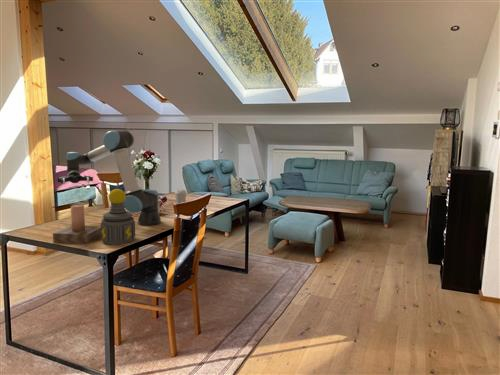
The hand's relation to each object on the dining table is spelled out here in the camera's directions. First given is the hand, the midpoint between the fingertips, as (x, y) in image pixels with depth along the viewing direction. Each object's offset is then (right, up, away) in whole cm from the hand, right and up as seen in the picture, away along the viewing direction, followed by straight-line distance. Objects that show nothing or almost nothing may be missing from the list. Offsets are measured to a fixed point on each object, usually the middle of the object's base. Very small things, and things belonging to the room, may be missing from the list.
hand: (76, 181), depth 230 cm
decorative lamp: (+30, -35, -13) cm, 48 cm away
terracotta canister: (+6, -28, -11) cm, 31 cm away
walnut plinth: (+6, -33, -11) cm, 36 cm away
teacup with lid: (+32, -24, +56) cm, 69 cm away
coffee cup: (+50, -21, +77) cm, 94 cm away
